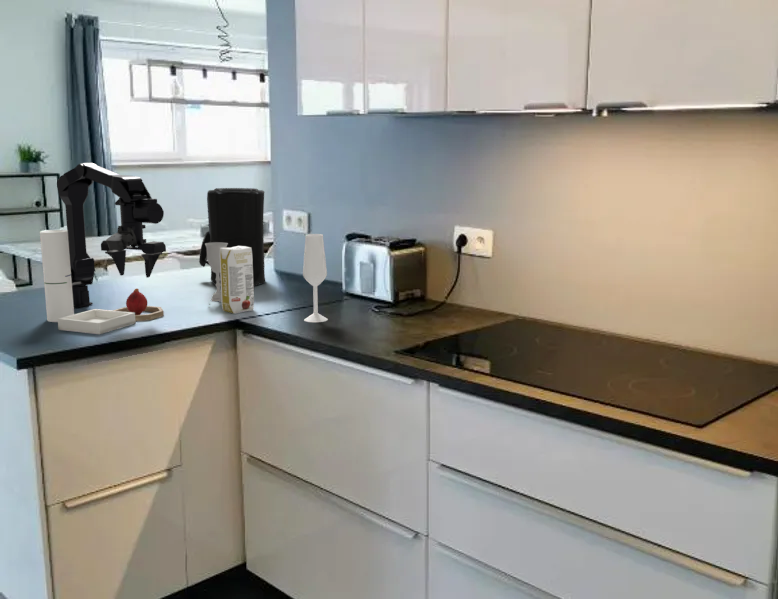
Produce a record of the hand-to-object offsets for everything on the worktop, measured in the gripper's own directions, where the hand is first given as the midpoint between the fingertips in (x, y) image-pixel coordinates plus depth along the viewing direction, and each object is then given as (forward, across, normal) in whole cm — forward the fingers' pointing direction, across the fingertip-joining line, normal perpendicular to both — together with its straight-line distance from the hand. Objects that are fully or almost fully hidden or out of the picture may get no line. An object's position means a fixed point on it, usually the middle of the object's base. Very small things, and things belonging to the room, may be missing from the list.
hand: (134, 276), depth 228 cm
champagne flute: (+12, +50, +15) cm, 54 cm away
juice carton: (+12, +23, +17) cm, 31 cm away
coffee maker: (+12, -6, +57) cm, 58 cm away
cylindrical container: (+12, -17, -12) cm, 24 cm away
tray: (+12, -1, -15) cm, 19 cm away
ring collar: (+12, 0, 0) cm, 12 cm away
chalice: (+12, +8, +29) cm, 32 cm away
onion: (+12, 0, 0) cm, 12 cm away
